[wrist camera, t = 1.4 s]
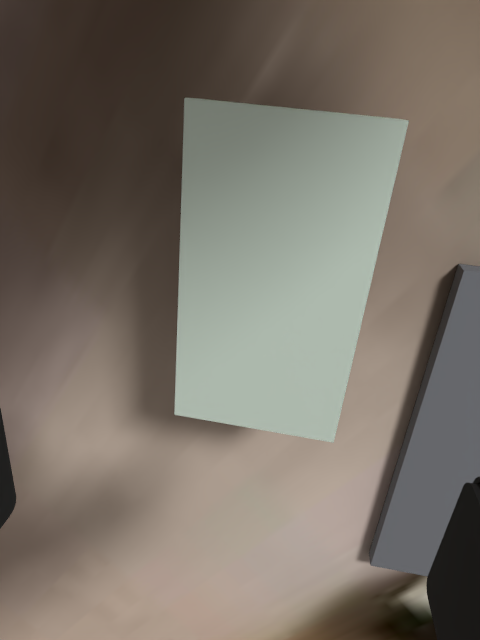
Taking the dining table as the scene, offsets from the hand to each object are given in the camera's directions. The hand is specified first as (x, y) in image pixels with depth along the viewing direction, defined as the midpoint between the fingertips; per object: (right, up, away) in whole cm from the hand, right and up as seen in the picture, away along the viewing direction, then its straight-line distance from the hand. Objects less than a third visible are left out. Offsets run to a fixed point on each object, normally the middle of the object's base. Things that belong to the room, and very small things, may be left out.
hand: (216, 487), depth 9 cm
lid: (+2, +5, +11) cm, 12 cm away
